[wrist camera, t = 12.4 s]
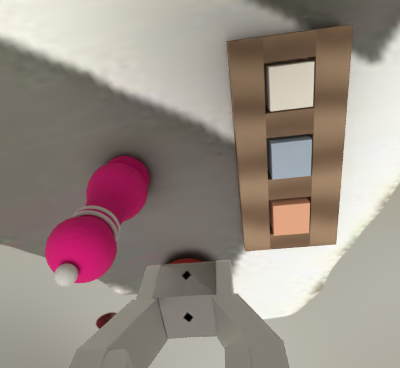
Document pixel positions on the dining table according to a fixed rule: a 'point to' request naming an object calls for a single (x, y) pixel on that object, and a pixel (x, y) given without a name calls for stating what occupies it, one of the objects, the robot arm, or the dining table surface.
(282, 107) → the cream button
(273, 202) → the terracotta button
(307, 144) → the slate button
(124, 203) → the pepper mill
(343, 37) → the button panel
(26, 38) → the dining table surface
